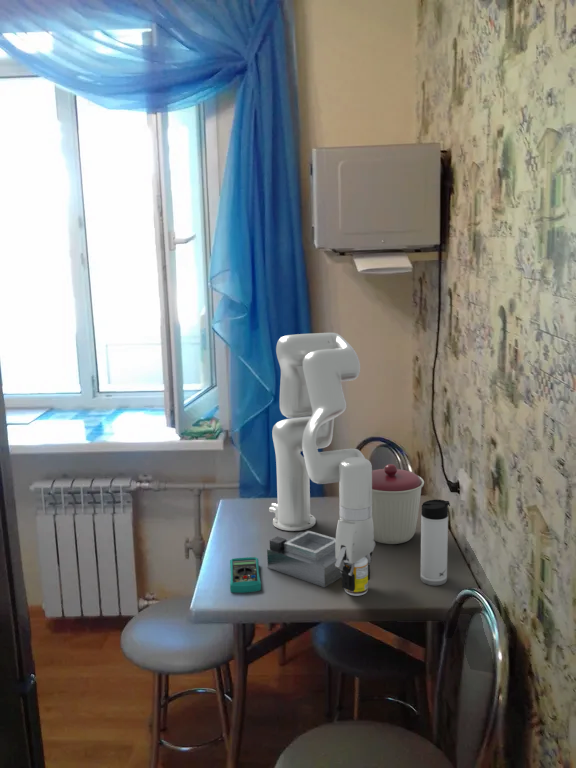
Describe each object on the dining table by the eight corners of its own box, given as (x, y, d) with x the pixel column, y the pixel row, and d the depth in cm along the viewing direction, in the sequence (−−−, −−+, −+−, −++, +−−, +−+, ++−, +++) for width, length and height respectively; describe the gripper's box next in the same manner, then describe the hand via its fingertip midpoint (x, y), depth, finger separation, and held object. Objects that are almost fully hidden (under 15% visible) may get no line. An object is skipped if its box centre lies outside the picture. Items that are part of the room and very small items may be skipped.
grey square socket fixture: (267, 567, 181) (266, 540, 179) (301, 549, 191) (301, 523, 190) (324, 587, 169) (324, 558, 168) (357, 566, 180) (357, 539, 178)
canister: (351, 546, 192) (350, 471, 188) (365, 521, 209) (365, 453, 205) (418, 554, 186) (418, 477, 182) (427, 528, 203) (428, 457, 199)
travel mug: (449, 586, 168) (450, 506, 164) (420, 585, 169) (421, 505, 166) (447, 574, 174) (449, 497, 170) (420, 573, 175) (421, 496, 172)
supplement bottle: (340, 587, 169) (340, 547, 167) (362, 584, 171) (362, 544, 169) (349, 598, 164) (349, 557, 162) (371, 594, 165) (371, 553, 163)
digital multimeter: (230, 595, 168) (229, 584, 167) (230, 567, 182) (229, 556, 182) (261, 593, 168) (261, 582, 168) (258, 566, 183) (258, 555, 182)
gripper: (362, 497, 172) (362, 566, 176) (320, 519, 159) (321, 593, 163) (389, 503, 168) (389, 574, 171) (347, 526, 155) (348, 603, 158)
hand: (356, 583), depth 167 cm, fingers closed on supplement bottle, 5 cm apart
